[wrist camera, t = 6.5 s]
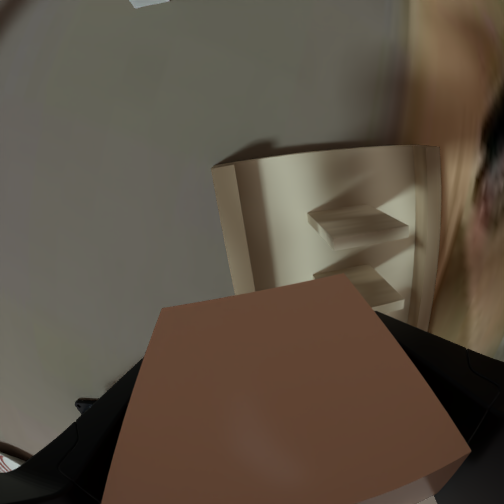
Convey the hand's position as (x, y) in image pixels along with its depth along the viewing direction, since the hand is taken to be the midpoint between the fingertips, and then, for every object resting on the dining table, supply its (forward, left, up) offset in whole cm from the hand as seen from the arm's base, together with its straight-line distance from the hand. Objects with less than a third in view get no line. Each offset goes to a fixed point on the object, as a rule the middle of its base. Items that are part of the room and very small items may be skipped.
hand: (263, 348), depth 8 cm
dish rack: (+6, -5, -11) cm, 14 cm away
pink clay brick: (0, 0, -2) cm, 2 cm away
